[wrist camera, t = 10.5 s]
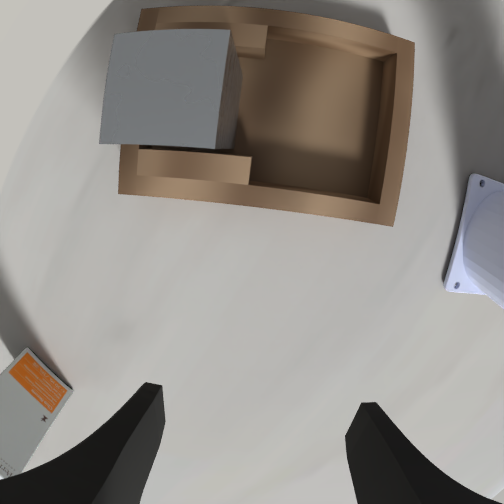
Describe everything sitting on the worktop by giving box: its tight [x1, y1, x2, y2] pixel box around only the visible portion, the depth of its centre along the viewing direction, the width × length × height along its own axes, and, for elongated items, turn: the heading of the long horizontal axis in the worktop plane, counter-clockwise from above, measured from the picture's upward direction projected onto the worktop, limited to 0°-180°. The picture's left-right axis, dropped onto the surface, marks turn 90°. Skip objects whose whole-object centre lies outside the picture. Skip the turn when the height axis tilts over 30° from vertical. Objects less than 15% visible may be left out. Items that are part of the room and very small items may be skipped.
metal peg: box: [99, 29, 243, 149], centre depth 12 cm, size 4×4×7 cm
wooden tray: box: [118, 6, 415, 227], centre depth 14 cm, size 14×10×2 cm
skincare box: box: [0, 347, 73, 480], centre depth 17 cm, size 6×4×12 cm
